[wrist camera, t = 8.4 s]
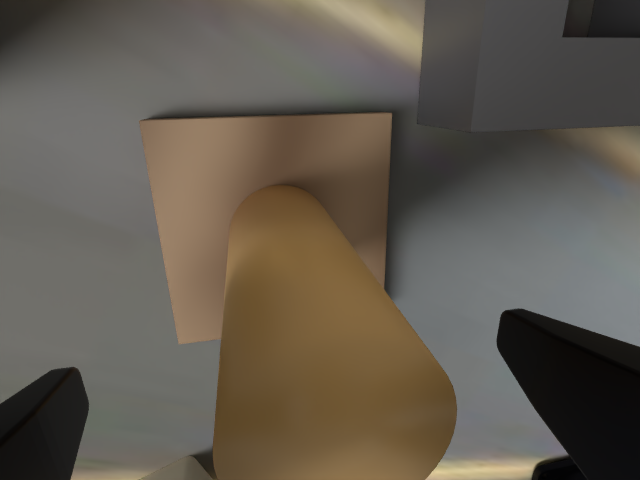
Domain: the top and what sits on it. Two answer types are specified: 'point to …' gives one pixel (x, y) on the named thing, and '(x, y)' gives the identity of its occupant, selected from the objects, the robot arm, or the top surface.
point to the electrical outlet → (180, 471)
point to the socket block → (528, 66)
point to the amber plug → (319, 358)
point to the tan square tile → (246, 178)
